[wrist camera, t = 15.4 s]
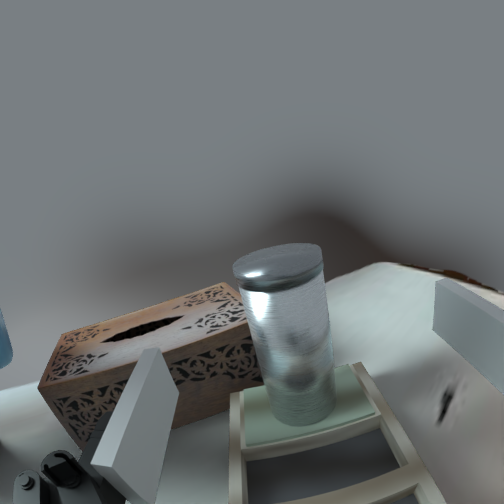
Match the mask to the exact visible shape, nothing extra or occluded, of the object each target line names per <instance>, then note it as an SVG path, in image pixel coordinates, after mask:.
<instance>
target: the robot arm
mask: <svg viewBox="0 0 504 504" xmlns="http://www.w3.org/2000/svg"><path fill="white" fill-rule="evenodd" d="M433 331H434V332H436V333H437V334H438V335H439V336H440V337H441V338H442V339H444V340H445V341H446V342H447V343H448V344H449V345H450V346H451V347H453V348H454V349H455V350H456V351H457V352H458V353H459V354H460V355H462V356H463V357H464V358H465V359H466V360H467V361H468V362H469V363H470V364H471V365H473V366H474V367H475V368H476V369H477V370H478V371H479V372H480V373H481V374H482V375H483V376H484V377H485V378H486V379H487V380H489V381H490V382H491V383H492V384H493V385H494V386H495V387H496V388H497V389H498V390H499V391H500V392H501V393H502V394H503V395H504V310H502V309H501V308H499V307H497V306H496V305H494V304H492V303H491V302H489V301H487V300H486V299H484V298H482V297H480V296H479V295H477V294H475V293H473V292H472V291H470V290H468V289H466V288H465V287H463V286H461V285H459V284H457V283H456V282H454V281H452V280H450V279H448V278H444V279H441V280H439V281H436V283H435V305H434V319H433ZM12 351H13V350H12V346H11V343H10V339H9V335H8V332H7V329H6V325H5V322H4V319H3V315H2V312H1V309H0V369H1V368H3V367H5V366H7V365H8V364H9V363H10V362H11V361H12V357H13V352H12ZM178 396H179V391H178V389H177V387H176V385H175V383H174V381H173V378H172V376H171V374H170V372H169V369H168V367H167V365H166V362H165V360H164V358H163V355H162V353H161V351H160V348H159V347H157V348H149V349H144V350H143V352H142V354H141V356H140V358H139V360H138V362H137V364H136V366H135V368H134V370H133V372H132V374H131V376H130V378H129V380H128V382H127V384H126V386H125V388H124V391H123V393H122V395H121V397H120V399H119V401H118V403H117V405H116V407H115V410H114V412H112V411H107V412H106V413H105V414H104V415H103V416H102V417H101V418H100V419H99V420H98V422H97V424H96V426H95V428H94V431H93V432H92V434H91V436H90V439H89V440H88V442H87V444H86V446H85V449H84V451H83V453H82V455H81V457H80V459H79V462H77V460H76V459H75V458H74V457H73V456H72V455H71V454H70V453H69V452H67V451H64V450H58V451H54V452H52V453H50V454H49V455H47V456H46V457H45V459H44V460H43V462H42V464H41V472H42V473H43V474H44V475H45V476H46V477H47V479H43V478H42V477H41V476H40V475H39V474H38V473H37V472H35V471H33V470H25V471H22V472H21V473H20V474H18V476H17V477H16V479H15V482H14V489H13V504H125V501H126V500H128V501H129V502H130V503H131V504H155V500H156V495H157V490H158V485H159V481H160V476H161V471H162V466H163V461H164V457H165V452H166V448H167V443H168V439H169V434H170V430H171V426H172V421H173V417H174V413H175V408H176V404H177V400H178Z"/></svg>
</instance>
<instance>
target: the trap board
mask: <svg viewBox="0 0 504 504" xmlns="http://www.w3.org/2000/svg"><path fill="white" fill-rule="evenodd" d="M334 369H335V381H336V395H337V403H336V406H335V409H334V410H333V412H332V413H331V414H330V415H329V416H328V417H327V418H325V419H324V420H322V421H320V422H318V423H316V424H313V425H309V426H303V427H295V426H289V425H286V424H283V423H281V422H279V421H278V420H277V419H276V418H275V417H274V415H273V414H272V411H271V407H270V403H269V400H268V396H267V392H266V389H265V385H264V386H259V387H253V388H248V389H243V390H244V391H240V392H235V393H230V424H229V496H228V504H447V503H446V501H445V500H444V498H443V496H442V494H441V493H440V491H439V489H438V487H437V485H436V484H435V482H434V480H433V478H432V477H431V475H430V473H429V472H428V470H427V468H426V466H425V465H424V463H423V461H422V460H421V458H420V456H419V455H418V453H417V451H416V449H415V448H414V446H413V444H412V443H411V441H410V439H409V438H408V436H407V435H406V433H405V431H404V430H403V428H402V426H401V425H400V423H399V421H398V420H397V418H396V417H395V415H394V413H393V412H392V410H391V408H390V407H389V405H388V404H387V402H386V400H385V399H384V397H383V396H382V394H381V393H380V391H379V389H378V388H377V386H376V385H375V383H374V381H373V380H372V378H371V377H370V375H369V374H368V372H367V371H366V369H365V367H364V366H363V364H362V363H361V362H359V363H356V364H352V365H348V364H347V365H344V366H340V367H337V368H334Z"/></svg>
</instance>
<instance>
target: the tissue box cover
mask: <svg viewBox="0 0 504 504" xmlns="http://www.w3.org/2000/svg"><path fill="white" fill-rule="evenodd" d="M157 347H159V348H160V351H161V353H162V355H163V358H164V360H165V362H166V365H167V367H168V369H169V372H170V374H171V376H172V378H173V381H174V383H175V385H176V387H177V389H178V391H179V396H178V400H177V404H176V408H175V413H174V417H173V421H172V426H171V429H175V428H178V427H181V426H184V425H187V424H190V423H193V422H196V421H198V420H201V419H204V418H207V417H210V416H212V415H215V414H217V413H220V412H223V411H225V410H228V409H230V393H235V392H240V391H244V390H243V389H248V388H253V387H259V386H264V381H263V378H262V374H261V370H260V367H259V363H258V359H257V355H256V352H255V348H254V344H253V340H252V336H251V332H250V329H249V325H248V321H247V317H246V313H245V309H244V305H243V301H242V297H241V294H239V293H238V292H237V291H235V290H234V289H233V288H231V287H230V286H229V285H227V284H226V283H225V282H222V283H220V284H216V285H213V286H211V287H208V288H205V289H202V290H199V291H196V292H193V293H190V294H187V295H184V296H181V297H177V298H175V299H171V300H168V301H165V302H162V303H159V304H156V305H153V306H150V307H147V308H144V309H141V310H138V311H134V312H131V313H128V314H125V315H122V316H119V317H115V318H113V319H109V320H106V321H103V322H100V323H96V324H93V325H90V326H87V327H83V328H80V329H77V330H74V331H70V332H67V333H64V334H62V335H61V337H60V339H59V341H58V343H57V345H56V347H55V349H54V351H53V353H52V356H51V358H50V360H49V362H48V364H47V367H46V369H45V371H44V374H43V376H42V378H41V380H40V383H39V385H38V388H37V389H38V390H39V392H40V393H41V395H42V397H43V398H44V400H45V401H46V403H47V404H48V406H49V407H50V409H51V410H52V412H53V413H54V415H55V416H56V417H57V419H58V420H59V422H60V423H61V424H62V426H63V427H64V428H65V430H66V431H67V432H68V434H69V435H70V436H71V438H72V439H73V440H74V441H75V443H76V444H77V445H78V446H79V447H80V449H81V450H82V451H84V449H85V446H86V444H87V442H88V440H89V439H90V436H91V434H92V432H93V431H94V428H95V426H96V424H97V422H98V420H99V419H100V418H101V417H102V416H103V415H104V414H105V413H106V412H107V411H112V412H114V410H115V407H116V405H117V403H118V401H119V399H120V397H121V395H122V393H123V391H124V388H125V386H126V384H127V382H128V380H129V378H130V376H131V374H132V372H133V370H134V368H135V366H136V364H137V362H138V360H139V358H140V356H141V354H142V352H143V350H144V349H149V348H157Z"/></svg>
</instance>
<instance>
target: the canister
mask: <svg viewBox="0 0 504 504" xmlns="http://www.w3.org/2000/svg"><path fill="white" fill-rule="evenodd" d="M233 271H234V275H235V279H236V283H237V285H238V287H239V289H240V293H241V297H242V301H243V305H244V309H245V313H246V317H247V321H248V325H249V329H250V332H251V336H252V340H253V344H254V348H255V352H256V355H257V359H258V363H259V367H260V370H261V374H262V378H263V381H264V385H265V389H266V392H267V396H268V400H269V403H270V407H271V411H272V414H273V415H274V417H275V418H276V419H277V420H278V421H279V422H281V423H283V424H286V425H289V426H295V427H303V426H309V425H313V424H316V423H318V422H320V421H322V420H324V419H325V418H327V417H328V416H329V415H330V414H331V413H332V412H333V410H334V409H335V406H336V403H337V395H336V381H335V369H334V358H333V348H332V338H331V329H330V321H329V313H328V305H327V297H326V290H325V282H324V276H323V260H322V253H321V248H320V247H319V246H317V245H314V244H308V243H295V244H285V245H279V246H274V247H269V248H265V249H261V250H258V251H255V252H252V253H250V254H247V255H245V256H243V257H242V258H240V259H238V260H237V261H235V263H234V264H233Z"/></svg>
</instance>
